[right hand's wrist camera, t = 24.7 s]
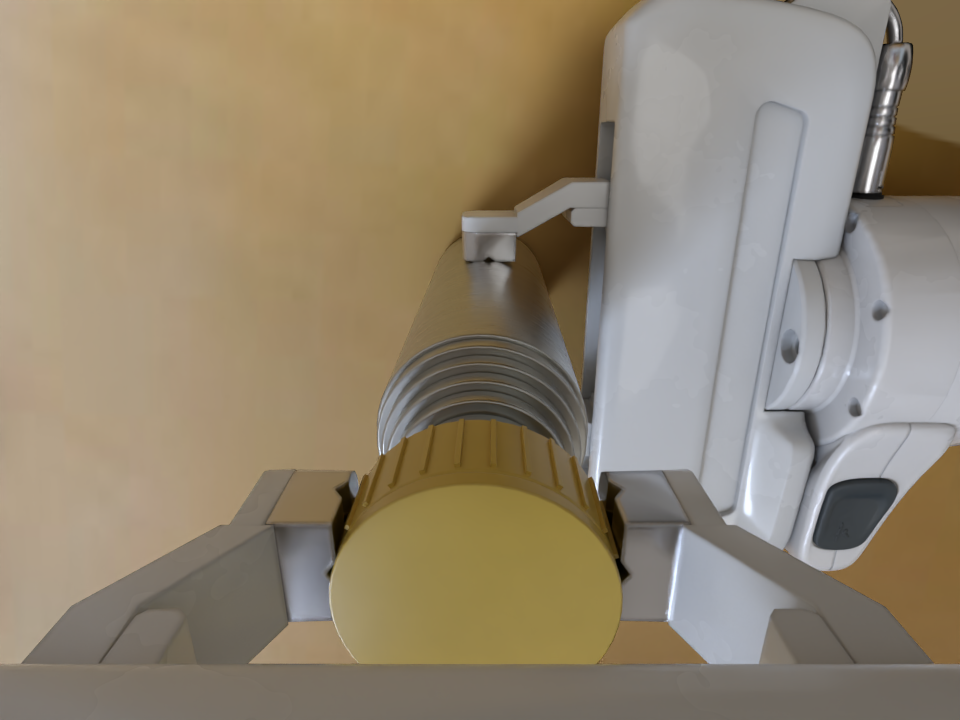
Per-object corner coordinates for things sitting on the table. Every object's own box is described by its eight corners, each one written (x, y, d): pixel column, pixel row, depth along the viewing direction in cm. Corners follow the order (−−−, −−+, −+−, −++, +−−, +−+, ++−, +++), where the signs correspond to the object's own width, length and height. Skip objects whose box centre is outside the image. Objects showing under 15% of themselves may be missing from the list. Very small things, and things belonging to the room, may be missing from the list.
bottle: (518, 350, 27) (557, 714, 10) (420, 314, 27) (290, 637, 10) (559, 253, 25) (686, 498, 9) (455, 213, 25) (372, 391, 8)
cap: (455, 656, 11) (448, 752, 10) (301, 502, 10) (260, 580, 8) (651, 550, 10) (684, 635, 9) (505, 365, 9) (508, 420, 7)
